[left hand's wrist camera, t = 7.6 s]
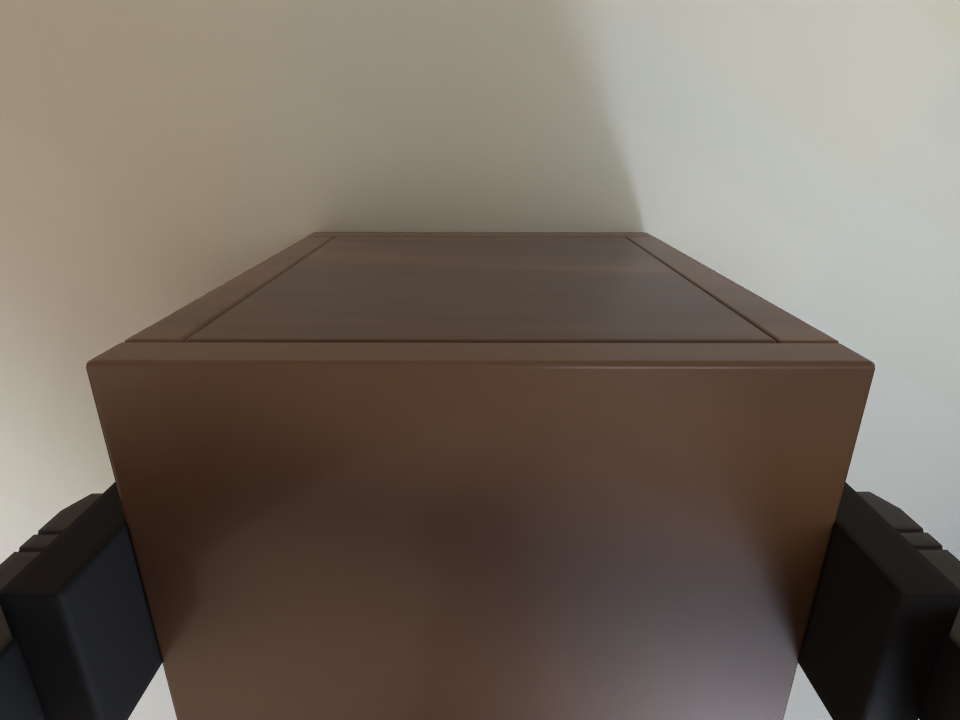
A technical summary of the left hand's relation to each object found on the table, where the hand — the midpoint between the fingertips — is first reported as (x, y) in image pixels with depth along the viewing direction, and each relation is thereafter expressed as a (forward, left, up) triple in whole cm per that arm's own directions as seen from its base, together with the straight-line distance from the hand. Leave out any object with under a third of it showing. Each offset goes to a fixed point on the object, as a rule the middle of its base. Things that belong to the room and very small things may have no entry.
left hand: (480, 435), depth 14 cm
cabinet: (+3, -4, -6) cm, 8 cm away
